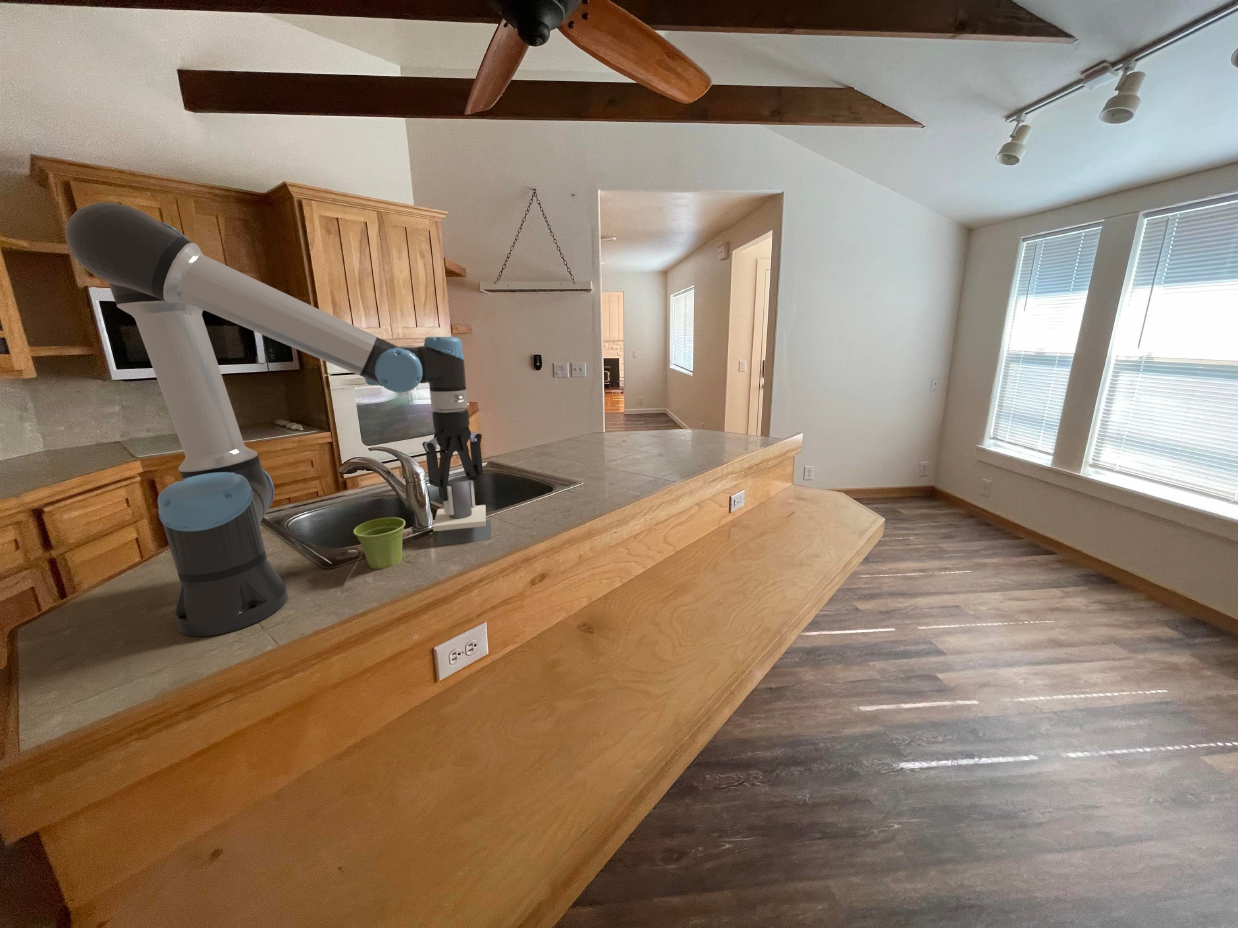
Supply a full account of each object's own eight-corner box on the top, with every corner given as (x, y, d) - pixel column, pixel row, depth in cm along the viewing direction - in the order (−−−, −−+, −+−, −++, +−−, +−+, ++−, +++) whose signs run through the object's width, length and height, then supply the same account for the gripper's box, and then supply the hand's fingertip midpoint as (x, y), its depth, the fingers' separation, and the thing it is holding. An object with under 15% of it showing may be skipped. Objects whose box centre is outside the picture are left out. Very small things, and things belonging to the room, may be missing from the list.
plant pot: (410, 570, 96) (404, 530, 94) (358, 580, 93) (350, 538, 91) (411, 551, 105) (405, 514, 102) (363, 559, 101) (356, 521, 99)
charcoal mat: (491, 542, 109) (490, 538, 108) (435, 549, 106) (434, 545, 106) (491, 522, 120) (490, 519, 120) (440, 528, 117) (439, 525, 117)
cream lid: (485, 526, 108) (482, 486, 105) (433, 531, 105) (428, 491, 103) (485, 509, 118) (482, 473, 116) (438, 513, 115) (434, 477, 113)
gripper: (420, 416, 96) (432, 525, 102) (494, 406, 109) (502, 502, 115) (401, 413, 100) (414, 517, 106) (475, 403, 114) (483, 496, 120)
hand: (460, 509), depth 111 cm, fingers closed on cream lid, 5 cm apart
